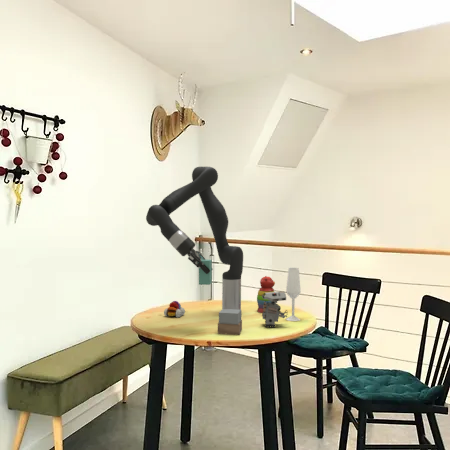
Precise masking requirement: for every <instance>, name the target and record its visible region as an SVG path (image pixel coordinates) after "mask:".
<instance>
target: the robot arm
mask: <svg viewBox="0 0 450 450" xmlns="http://www.w3.org/2000/svg"><path fill="white" fill-rule="evenodd" d="M218 178H219V173H218V171H217V169H216V168H215V167H211V166H196V167H194V169H193V170H192V172H191V179H192V181H191V182H189V183H187V184H186V185H184V186H180V187H179V188H177V189H175V190H173V191H172V192H171V193H169V194H168V195H167V196H165V197H164V198H163V199H162V200H161V202H160V203H159V204H153V205H152V204H151V206H150V207H149V208H148V211H147V213H146V217H145V220H146V223H148V225H149V226H152V227H157V226H158V227H159V228H160V233H161V235H162V236H163V237H164V238H165V239H166V240H167V241H168V242H169V244H170V245H171V246H172V247H173V248H174V249H175V250H176V251H177V252H178V253H179V255H181V256H182V257H185V256H188V257H187V260H189V261H190V262H191V263H192V264H194V266H195V267H196V268H198V269H199V268H201V269H202V270H203V271H204V272H205V273H206V274H208V273H209V272H210V269H209V268H208V267H207V266H206V265H205V264H204V263H203V262H202V260H207V259H206V258H205V257H204V256H203V255H202V253H201V252H200V251H198V250H195V249H194V248H195V247H196V243H195V242H194V241H193V240H192V239H191V238H190V237H189V236H188V235H187V234H186V233H185V232H184V231H182V230H181V228H180V227H179V226H178V225H177V224H176V223H174V221H173V219H172V218H171V216H170V215H171V214H172V213H173V212H175V211H177V210H178V209H179V208H180V207H181V206H183V205H184V204H185V203H187V202H188V201H189V200H190V199H192V198H193V197H196V196H197V195H198V196H199V198H200V201H201V203H202V207H203V209H204V212H205V214H206V218H207V221H208V224H209V226H210V229H211V233H212V236H213V238H214V241H215V246H216V250H217V254H218V258H219V261H220V262H221V263H222V264H223V265H227V266H229V269H228V270H227V271H224V272H223V273H222V276H221V277H222V279H221V280H222V286H221V287H222V288H221V291H222V292H221V295H222V298H221V301H222V302H221V310H222V309H236V310H241V311H242V274H243V269H244V252H243V251H244V250H243V249H242V247H240V246H235V245H230V244H229V242H228V239H227V231H228V228H229V218H228V215H227V211H226V208H225V207H224V205H223V204H222V202H221V201H220V200H219V199H218V197H217V196H216V195H215V193H214V192H213V189H212V187H213V186H214V185H215V184H217V182H218ZM213 270H214V269H213V268H212V271H213Z"/></svg>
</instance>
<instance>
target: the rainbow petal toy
mask: <svg viewBox="0 0 450 450" xmlns="http://www.w3.org/2000/svg"><path fill="white" fill-rule="evenodd" d="M185 313H186V310H185V308H184V307H182V306H181V304H180V303H179V301H178V300H173V301H172V302H170V303H169V305H168V307H167V308H165V309H164V310H163V315H164V316H165V317H167V318H168V317H173V316H174V317H176V318H181V316H184V315H185Z"/></svg>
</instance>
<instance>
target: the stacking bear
mask: <svg viewBox="0 0 450 450" xmlns="http://www.w3.org/2000/svg"><path fill="white" fill-rule="evenodd" d="M259 283H260V288H259V289H258V291H257V296H256V302H257V303H256V304H257V309H256V311H257V312H258V313H260V314H262V313H263V306H264V302H265V301H266V303H272V302H271V301H270V300H268V299H263V298H262V294H264V293H269V292H275V289H274V286H275V284H276V282H275V281H274V280H273V278H272V277H270V276H267V275H265V276H263V277H261V279H260V280H259ZM267 301H268V302H267Z"/></svg>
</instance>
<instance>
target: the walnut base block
mask: <svg viewBox="0 0 450 450" xmlns="http://www.w3.org/2000/svg"><path fill="white" fill-rule="evenodd" d="M242 330H243V319H241V321H240V323H239V324H238V325H236V324H219V322H218V323H217V335H227V336H228V335H233V336H240V335H241V333H242Z"/></svg>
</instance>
